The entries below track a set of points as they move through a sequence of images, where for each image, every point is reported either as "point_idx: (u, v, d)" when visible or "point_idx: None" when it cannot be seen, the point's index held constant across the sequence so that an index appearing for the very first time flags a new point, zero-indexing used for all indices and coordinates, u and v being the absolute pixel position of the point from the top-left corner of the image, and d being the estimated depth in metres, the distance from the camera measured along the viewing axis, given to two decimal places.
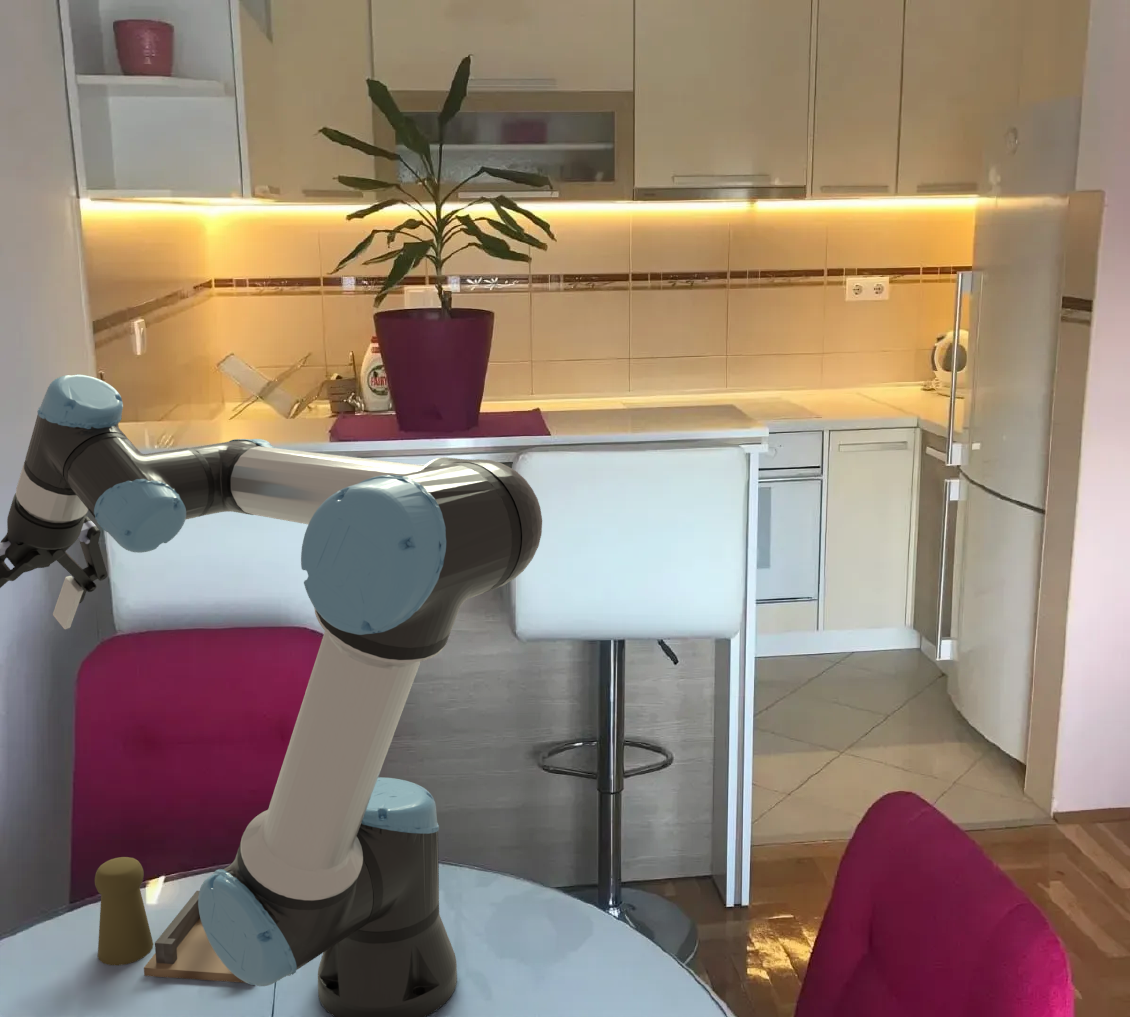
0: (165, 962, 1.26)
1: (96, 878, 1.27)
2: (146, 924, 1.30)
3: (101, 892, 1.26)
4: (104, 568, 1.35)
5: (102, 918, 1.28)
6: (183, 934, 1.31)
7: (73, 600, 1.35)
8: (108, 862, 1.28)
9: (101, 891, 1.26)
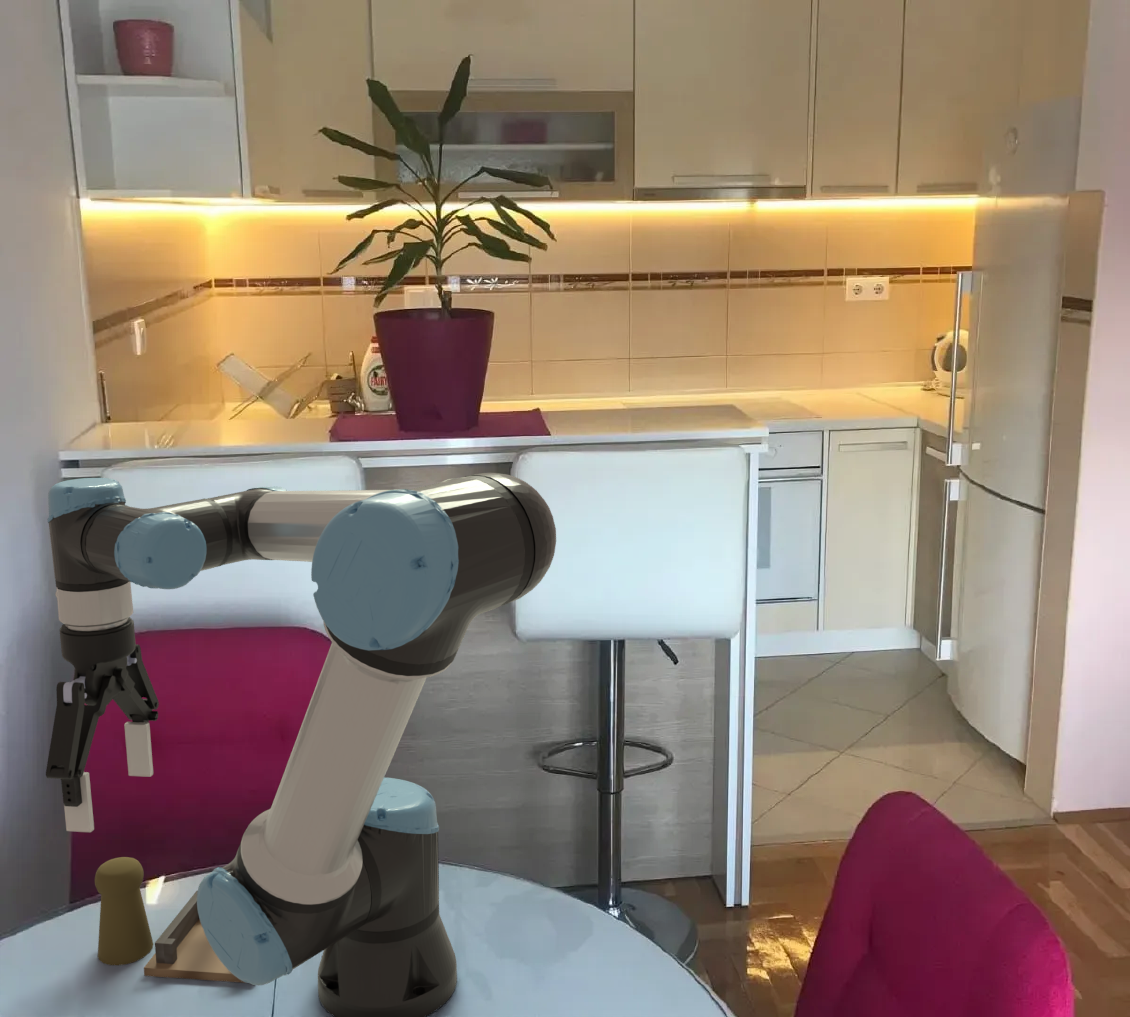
0: (165, 962, 1.26)
1: (96, 878, 1.27)
2: (146, 924, 1.30)
3: (101, 892, 1.26)
4: (154, 693, 1.34)
5: (102, 918, 1.28)
6: (183, 934, 1.31)
7: (145, 738, 1.32)
8: (108, 862, 1.28)
9: (101, 891, 1.26)
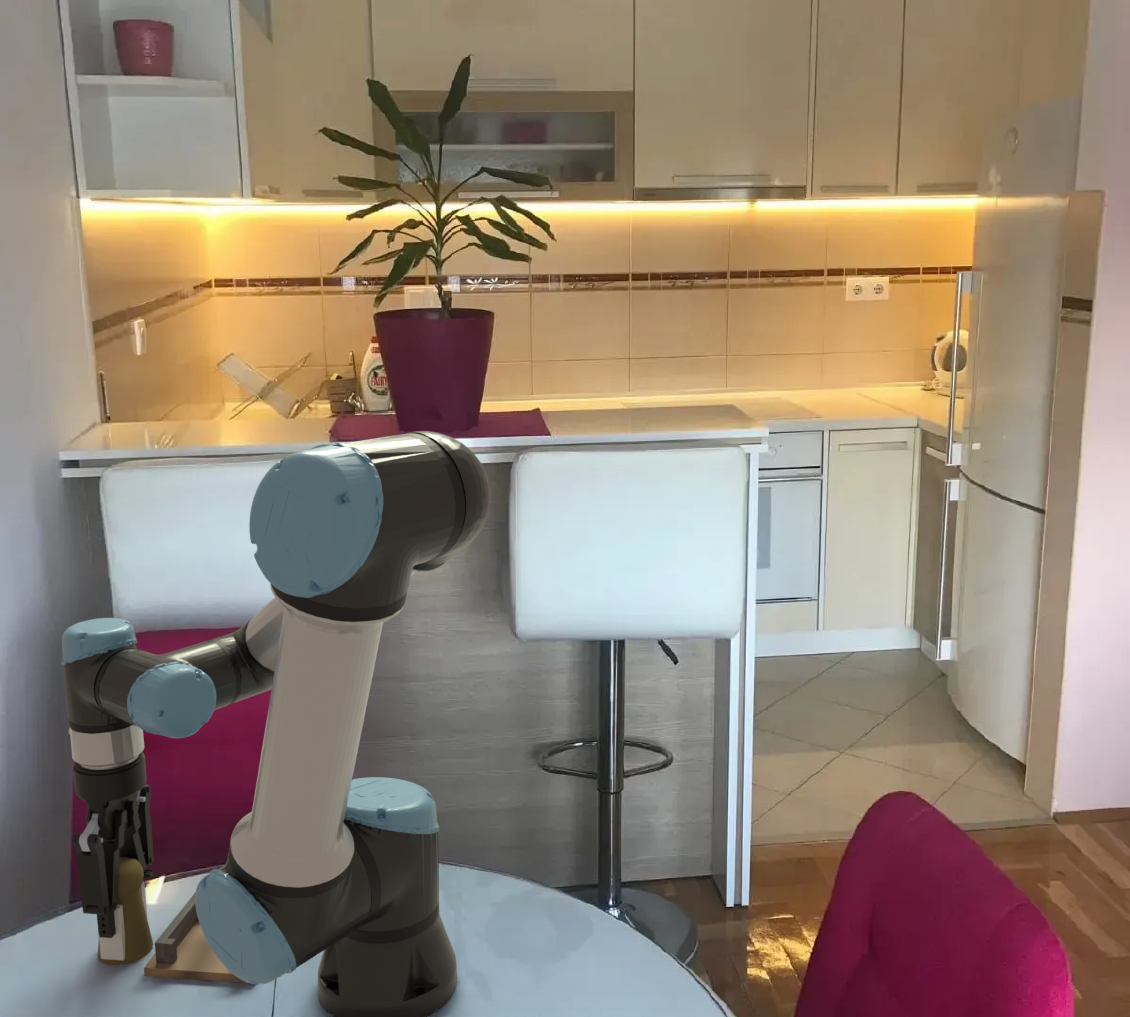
0: (165, 962, 1.26)
1: None
2: (146, 924, 1.30)
3: None
4: (152, 847, 1.34)
5: None
6: (183, 934, 1.31)
7: None
8: None
9: None
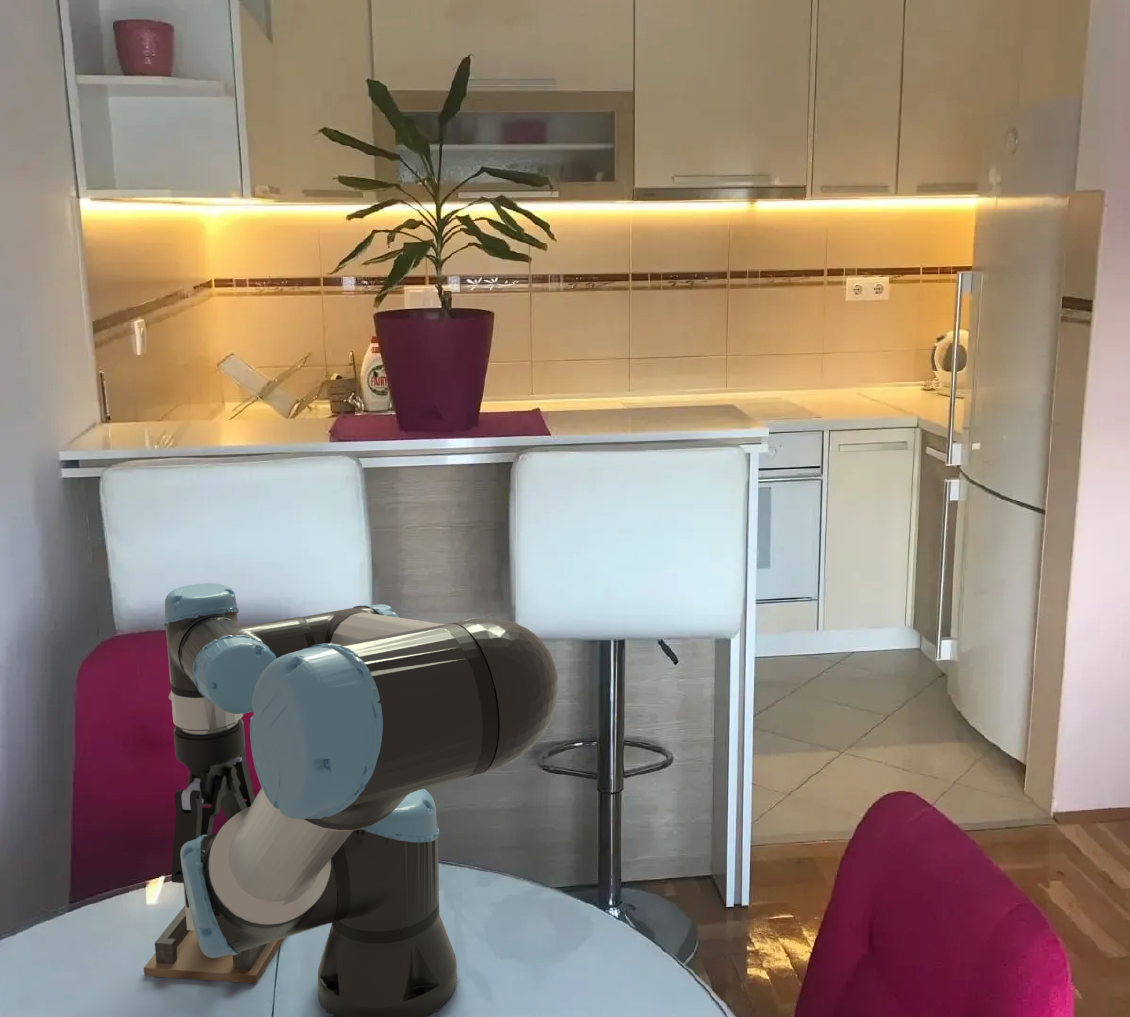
0: (165, 962, 1.26)
1: None
2: None
3: None
4: (253, 794, 1.36)
5: None
6: (183, 934, 1.31)
7: None
8: None
9: None
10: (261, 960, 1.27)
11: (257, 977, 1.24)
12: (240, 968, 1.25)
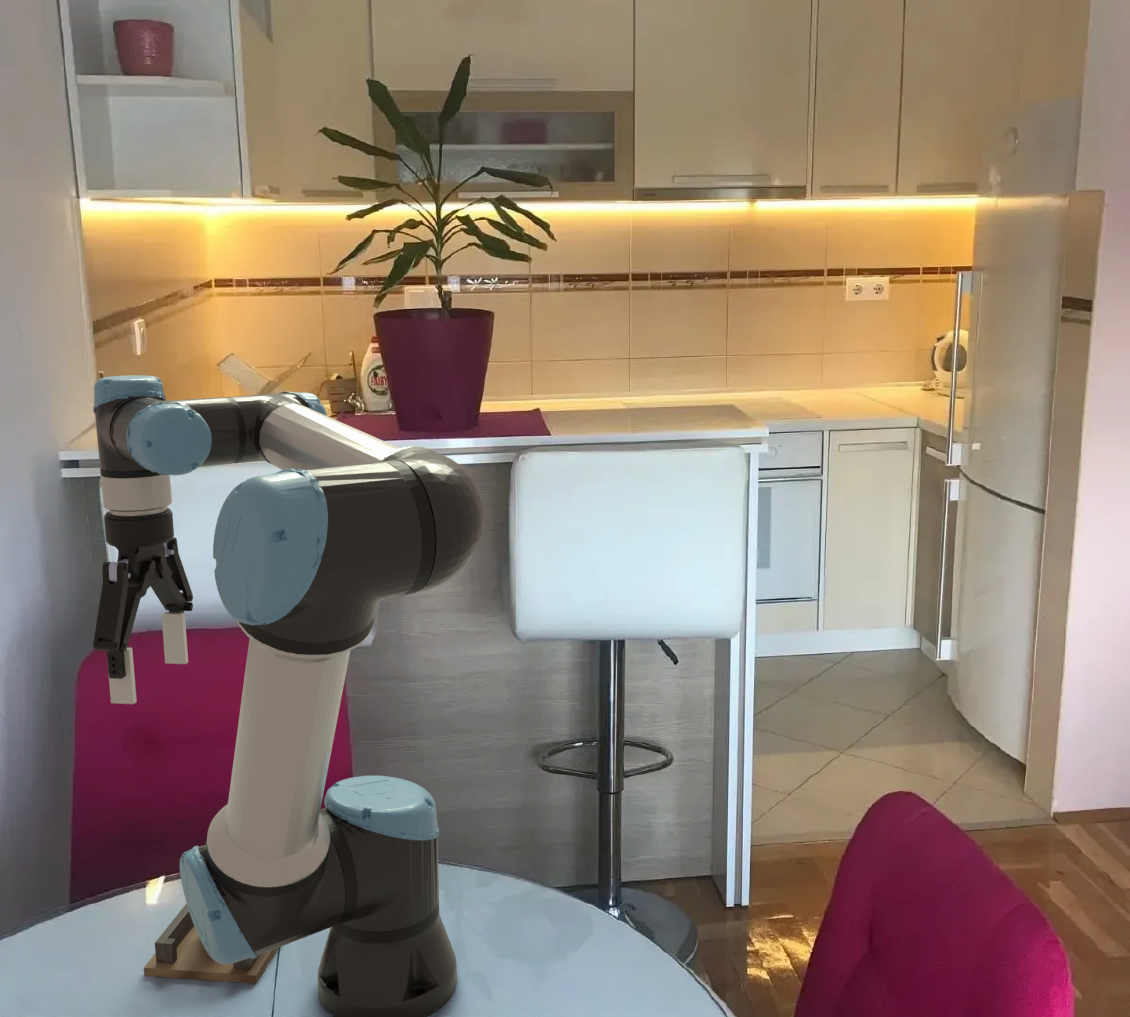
0: (165, 962, 1.26)
1: None
2: None
3: None
4: (189, 586, 1.42)
5: None
6: (183, 934, 1.31)
7: (181, 627, 1.40)
8: None
9: None
10: (261, 960, 1.27)
11: (257, 977, 1.24)
12: (240, 968, 1.25)
